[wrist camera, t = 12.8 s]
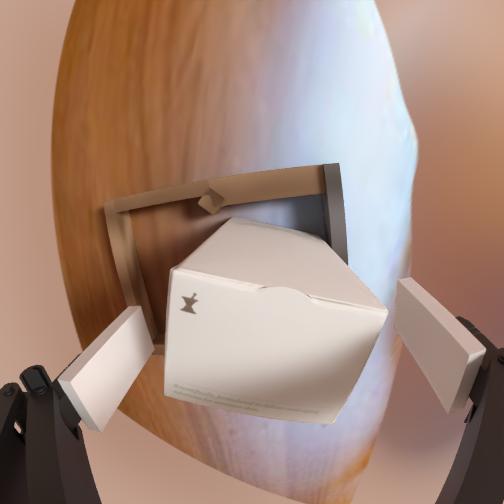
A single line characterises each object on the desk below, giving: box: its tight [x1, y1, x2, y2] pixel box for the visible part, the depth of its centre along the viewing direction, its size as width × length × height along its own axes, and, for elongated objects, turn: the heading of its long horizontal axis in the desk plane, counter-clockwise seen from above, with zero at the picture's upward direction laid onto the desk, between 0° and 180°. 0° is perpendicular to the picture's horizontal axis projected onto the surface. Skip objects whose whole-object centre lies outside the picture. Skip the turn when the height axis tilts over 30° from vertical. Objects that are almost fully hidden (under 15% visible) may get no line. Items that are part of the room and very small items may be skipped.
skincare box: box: [164, 217, 388, 424], centre depth 17 cm, size 8×7×16 cm
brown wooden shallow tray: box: [103, 163, 348, 355], centre depth 24 cm, size 15×20×3 cm
